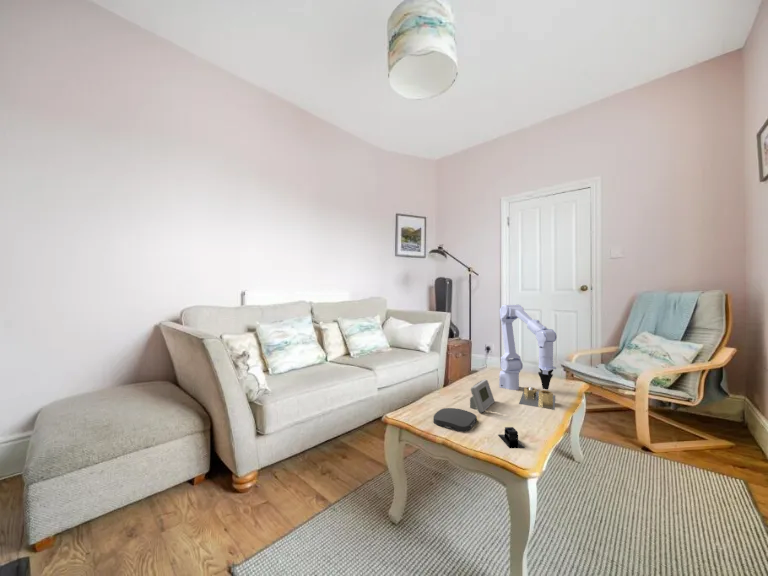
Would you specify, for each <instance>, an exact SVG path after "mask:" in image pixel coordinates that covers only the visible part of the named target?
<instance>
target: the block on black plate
mask: <svg viewBox="0 0 768 576" xmlns="http://www.w3.org/2000/svg"><path fill="white" fill-rule="evenodd" d="M497 436H498V437H499V438H500V439H501V441H502V442H503V443H504V444H505V445H506V446H507V447H508V449H526V446H524V444H522V442H520V440H519V433H518V431H517V429H515V427H514V426H509V427H508V426H507V427H506V426H505V427H504V434H497Z"/></svg>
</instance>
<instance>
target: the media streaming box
mask: <svg viewBox="0 0 768 576" xmlns="http://www.w3.org/2000/svg"><path fill="white" fill-rule="evenodd" d="M477 422H478V420H477V414H475V413H473V412H471V411H468V410H465V409H462V408H455V407H446V408H445V407H444V408H442V409H439V410H438V411H436V412H435V413H434V415H433V424H435V425H437V426H438V427H442V428H446V429H449V430H453V431H457V432H460V433H461V432H468V431H470V430H471V429H472V428H473V427H474V426H475V425H476V424H477Z"/></svg>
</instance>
